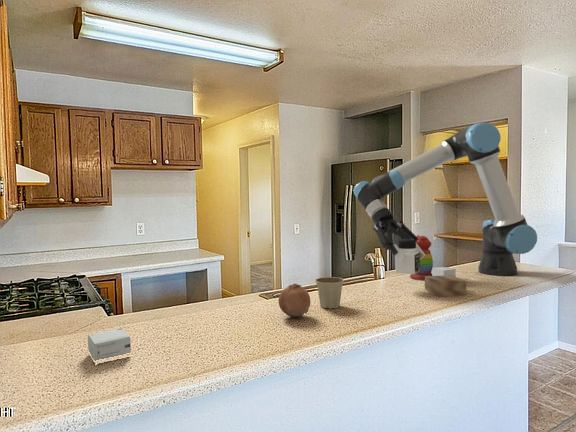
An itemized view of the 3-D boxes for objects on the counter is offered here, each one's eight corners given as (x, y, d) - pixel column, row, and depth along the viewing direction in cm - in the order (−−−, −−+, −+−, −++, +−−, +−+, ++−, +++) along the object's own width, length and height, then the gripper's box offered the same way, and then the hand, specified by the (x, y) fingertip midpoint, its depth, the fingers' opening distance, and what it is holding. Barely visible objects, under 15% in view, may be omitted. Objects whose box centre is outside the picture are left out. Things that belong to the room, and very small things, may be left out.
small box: (94, 366, 88) (93, 343, 88) (88, 355, 95) (86, 334, 94) (131, 357, 93) (130, 335, 93) (123, 347, 99) (122, 327, 99)
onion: (294, 311, 126) (294, 279, 126) (317, 317, 120) (316, 283, 119) (272, 318, 120) (271, 284, 119) (295, 324, 113) (294, 289, 112)
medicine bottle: (415, 274, 142) (414, 240, 142) (395, 272, 146) (394, 239, 145) (420, 271, 148) (419, 238, 148) (400, 269, 152) (399, 237, 151)
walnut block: (450, 288, 150) (450, 275, 150) (465, 294, 141) (465, 280, 140) (424, 290, 149) (424, 276, 149) (438, 296, 139) (438, 282, 139)
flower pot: (350, 305, 131) (350, 279, 130) (333, 312, 124) (332, 284, 123) (327, 301, 137) (326, 275, 137) (309, 307, 130) (308, 280, 130)
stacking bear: (438, 280, 165) (438, 236, 164) (413, 280, 165) (413, 237, 164) (430, 275, 175) (429, 234, 174) (406, 275, 176) (406, 234, 175)
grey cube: (444, 281, 163) (443, 266, 162) (455, 284, 157) (455, 269, 157) (432, 283, 160) (432, 268, 160) (443, 286, 155) (443, 270, 154)
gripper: (395, 218, 165) (428, 261, 153) (353, 222, 154) (385, 269, 141) (404, 205, 161) (439, 248, 148) (362, 208, 149) (396, 256, 137)
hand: (413, 258), depth 145 cm, fingers closed on medicine bottle, 9 cm apart
